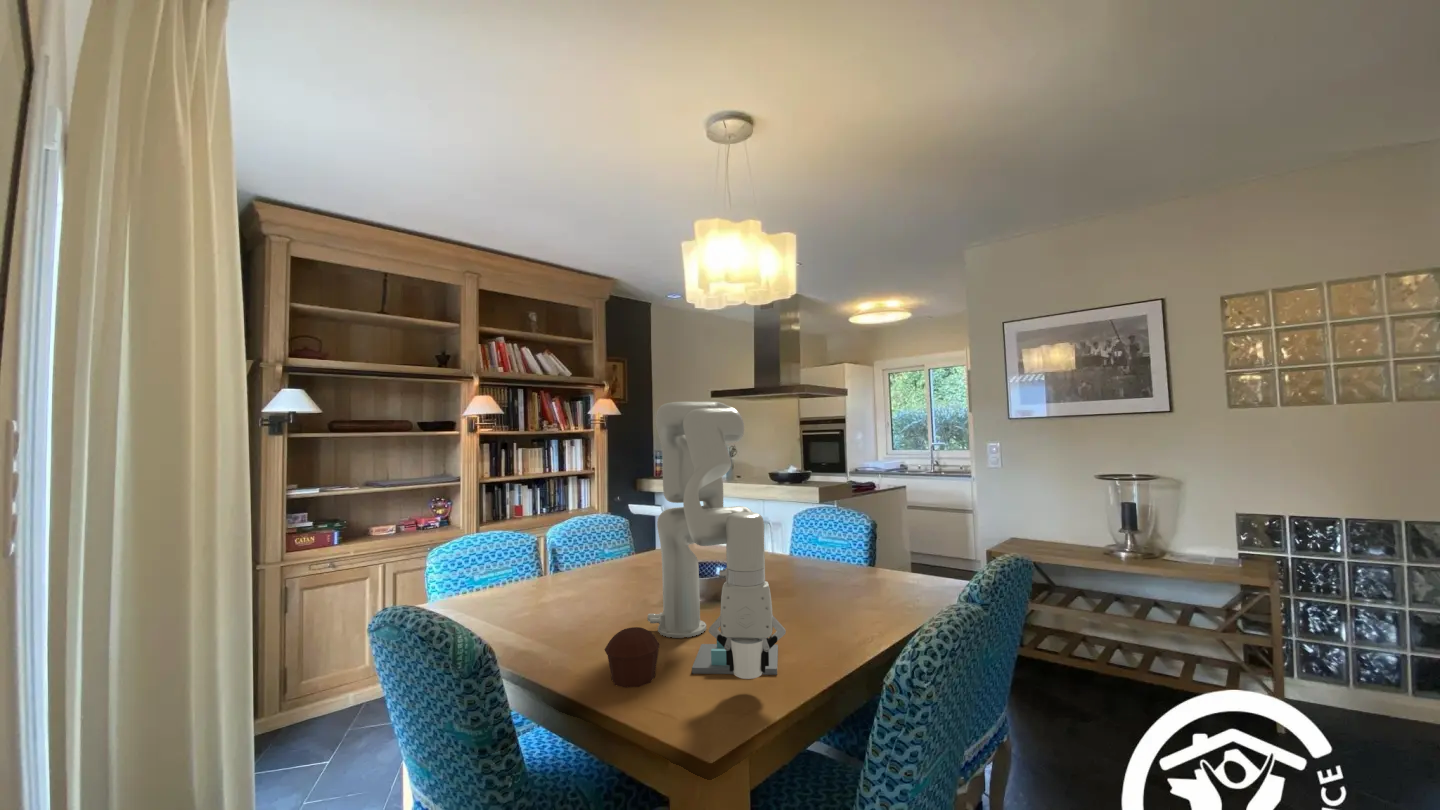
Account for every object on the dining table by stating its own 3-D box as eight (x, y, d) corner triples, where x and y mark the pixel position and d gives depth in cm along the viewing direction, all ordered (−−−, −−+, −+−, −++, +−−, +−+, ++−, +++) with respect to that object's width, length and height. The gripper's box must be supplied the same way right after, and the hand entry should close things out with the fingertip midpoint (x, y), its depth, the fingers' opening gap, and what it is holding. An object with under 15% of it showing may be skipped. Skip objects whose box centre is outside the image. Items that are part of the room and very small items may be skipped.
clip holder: (692, 673, 123) (691, 653, 123) (701, 649, 137) (701, 631, 137) (777, 674, 121) (776, 654, 121) (778, 649, 135) (777, 631, 135)
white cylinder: (766, 680, 110) (765, 643, 110) (730, 680, 110) (729, 643, 110) (764, 664, 117) (763, 629, 117) (730, 665, 117) (729, 630, 117)
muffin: (630, 664, 129) (629, 618, 130) (671, 673, 123) (669, 625, 124) (593, 684, 119) (592, 635, 119) (636, 695, 113) (634, 643, 114)
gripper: (699, 581, 111) (701, 676, 111) (789, 582, 109) (792, 679, 109) (705, 570, 118) (707, 660, 118) (789, 571, 117) (791, 662, 116)
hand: (747, 668), depth 113 cm, fingers closed on white cylinder, 5 cm apart
